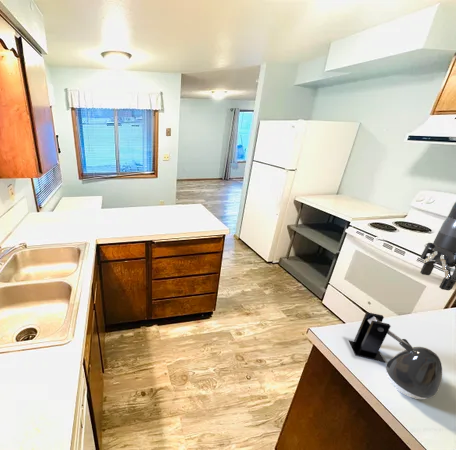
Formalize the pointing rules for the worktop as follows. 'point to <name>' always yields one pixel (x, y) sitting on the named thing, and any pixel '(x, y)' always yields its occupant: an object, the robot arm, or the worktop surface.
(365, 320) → the bracket
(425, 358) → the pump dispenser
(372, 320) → the lever
